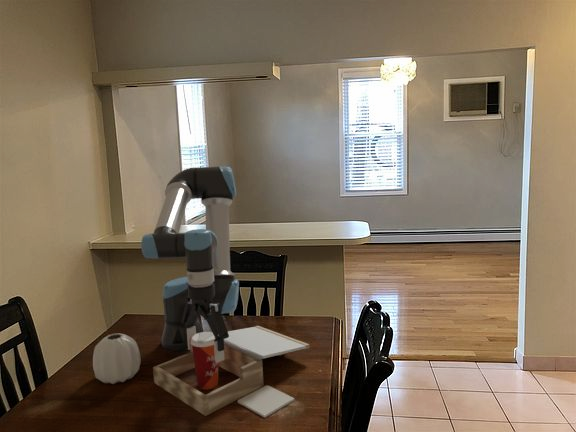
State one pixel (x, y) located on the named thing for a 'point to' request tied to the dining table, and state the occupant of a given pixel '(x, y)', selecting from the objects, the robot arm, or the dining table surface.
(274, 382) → the dining table surface
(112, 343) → the vase
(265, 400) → the stone tile
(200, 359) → the coffee cup
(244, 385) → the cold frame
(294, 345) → the lid
